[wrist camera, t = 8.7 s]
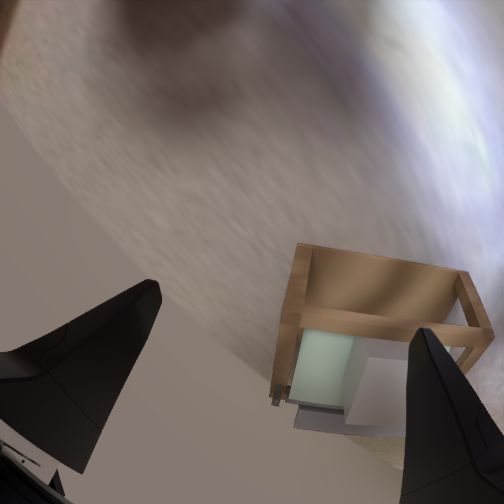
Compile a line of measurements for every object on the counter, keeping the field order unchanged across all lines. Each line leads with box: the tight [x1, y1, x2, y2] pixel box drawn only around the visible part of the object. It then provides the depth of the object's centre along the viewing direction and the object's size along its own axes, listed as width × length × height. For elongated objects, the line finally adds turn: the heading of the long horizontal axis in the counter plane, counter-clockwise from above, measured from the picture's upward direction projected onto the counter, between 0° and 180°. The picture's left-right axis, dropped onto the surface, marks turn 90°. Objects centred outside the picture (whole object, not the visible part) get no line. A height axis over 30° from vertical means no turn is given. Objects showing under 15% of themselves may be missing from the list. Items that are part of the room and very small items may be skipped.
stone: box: [342, 336, 410, 427], centre depth 17 cm, size 5×5×5 cm
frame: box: [269, 243, 495, 406], centre depth 21 cm, size 15×11×9 cm
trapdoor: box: [285, 328, 451, 437], centre depth 20 cm, size 12×10×1 cm
